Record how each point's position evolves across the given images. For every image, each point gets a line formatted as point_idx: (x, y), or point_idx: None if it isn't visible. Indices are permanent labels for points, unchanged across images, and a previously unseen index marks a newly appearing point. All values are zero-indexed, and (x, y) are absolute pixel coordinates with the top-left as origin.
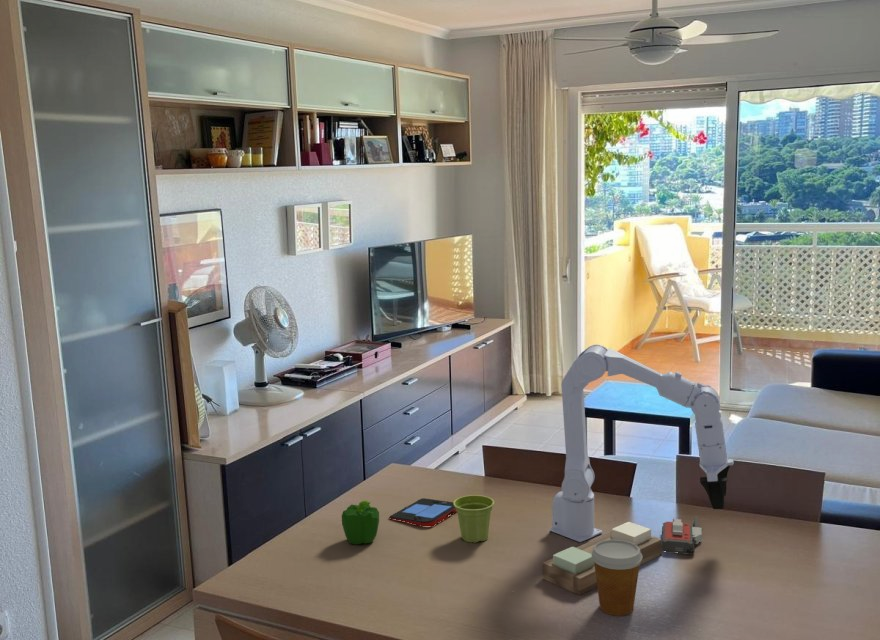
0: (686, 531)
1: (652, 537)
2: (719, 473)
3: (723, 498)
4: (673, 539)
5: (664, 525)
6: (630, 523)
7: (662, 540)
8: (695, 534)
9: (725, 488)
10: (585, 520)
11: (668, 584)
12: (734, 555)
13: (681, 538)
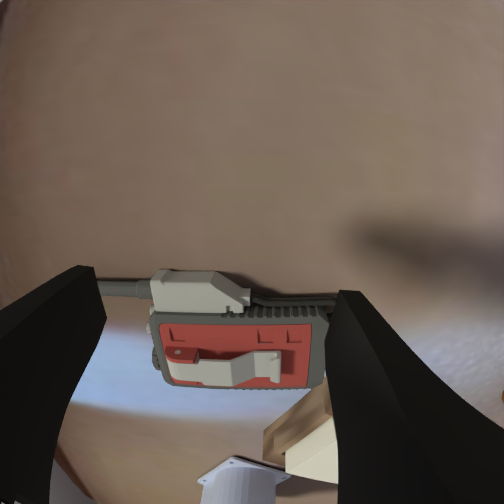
0: (230, 337)
1: (329, 417)
2: (3, 420)
3: (407, 345)
4: (310, 369)
5: (192, 385)
6: (298, 469)
7: (305, 388)
8: (219, 303)
9: (59, 296)
10: (270, 501)
11: (481, 333)
12: (304, 161)
13: (299, 351)
